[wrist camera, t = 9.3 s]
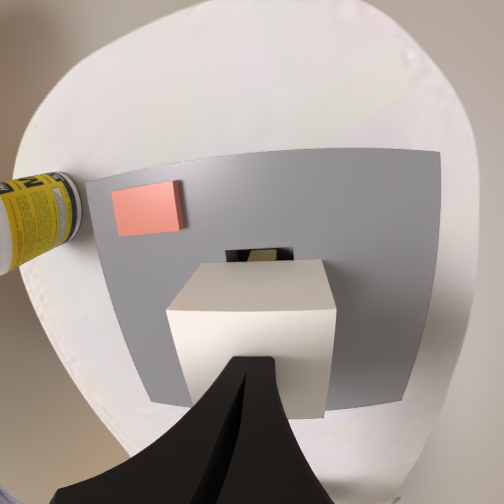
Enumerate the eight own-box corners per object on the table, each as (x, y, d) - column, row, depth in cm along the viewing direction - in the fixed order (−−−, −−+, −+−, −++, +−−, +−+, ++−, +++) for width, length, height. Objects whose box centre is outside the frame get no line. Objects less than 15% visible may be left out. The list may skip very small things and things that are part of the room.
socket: (391, 374, 16) (403, 407, 13) (163, 378, 18) (148, 407, 15) (415, 151, 11) (447, 152, 8) (112, 177, 14) (77, 184, 11)
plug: (313, 360, 15) (319, 442, 10) (228, 360, 16) (205, 437, 10) (317, 245, 13) (336, 309, 7) (212, 249, 14) (165, 309, 8)
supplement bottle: (77, 163, 14) (-39, 185, 6) (90, 238, 15) (-14, 297, 7) (34, 179, 14) (-62, 206, 6) (46, 244, 16) (-42, 291, 8)
